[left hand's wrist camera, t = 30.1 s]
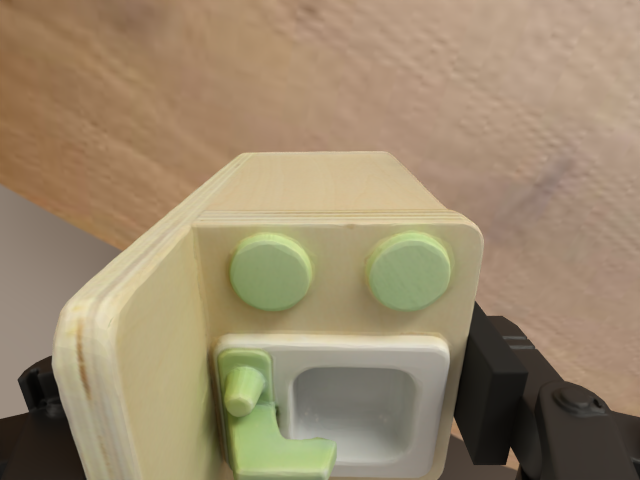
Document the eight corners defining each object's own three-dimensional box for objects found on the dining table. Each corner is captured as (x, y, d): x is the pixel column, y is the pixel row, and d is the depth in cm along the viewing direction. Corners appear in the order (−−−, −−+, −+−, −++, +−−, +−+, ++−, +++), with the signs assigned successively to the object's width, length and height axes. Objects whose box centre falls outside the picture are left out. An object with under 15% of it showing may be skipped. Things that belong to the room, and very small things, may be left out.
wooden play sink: (392, 315, 20) (499, 668, 8) (253, 315, 20) (141, 665, 8) (403, 150, 17) (614, 304, 5) (239, 151, 17) (16, 305, 5)
